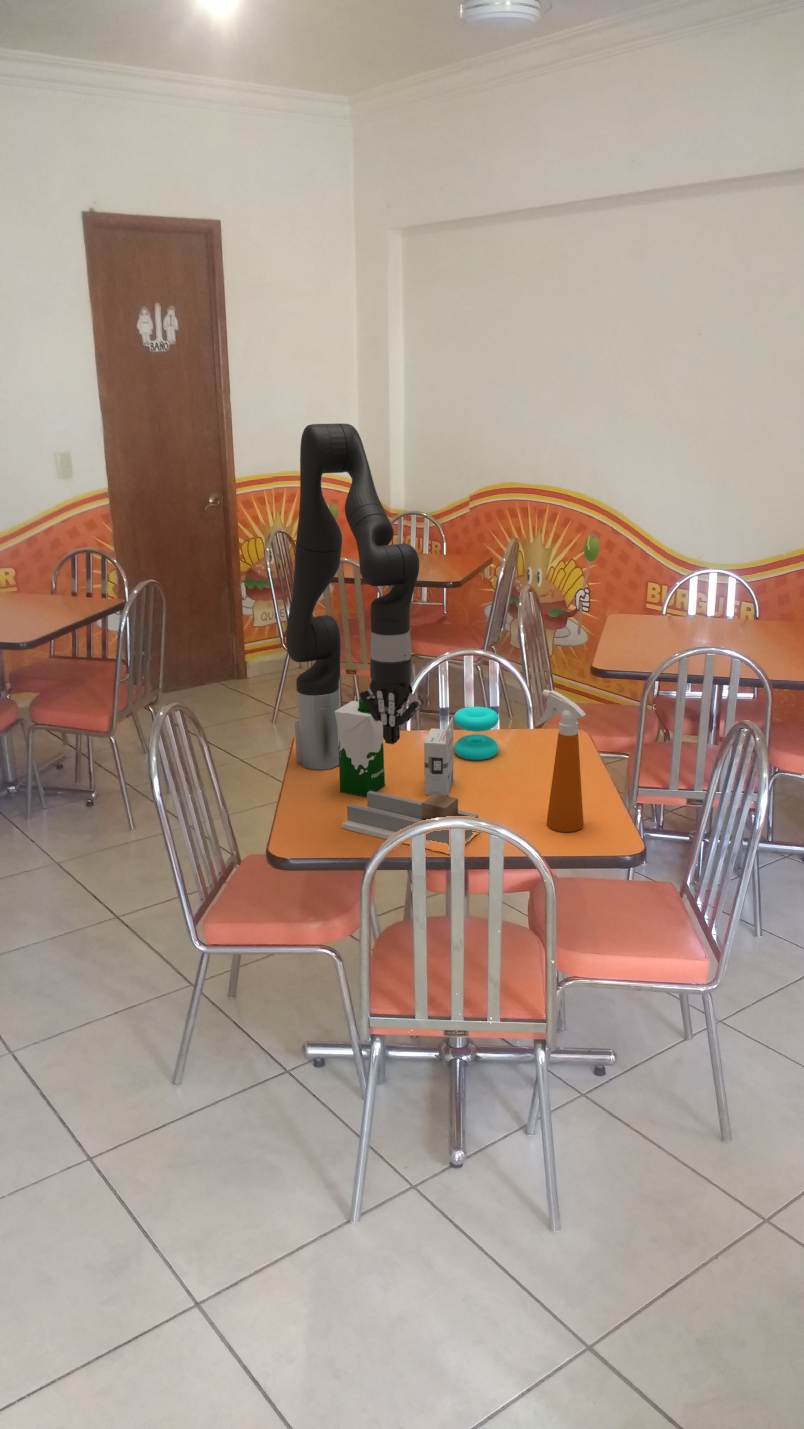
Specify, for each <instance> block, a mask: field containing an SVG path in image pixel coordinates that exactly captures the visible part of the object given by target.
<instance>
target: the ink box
mask: <svg viewBox="0 0 804 1429" xmlns="http://www.w3.org/2000/svg"><path fill="white" fill-rule="evenodd" d="M423 748H424V749H423V752H424V753H423V755H424V762H423V764H424V795H425V796H432V795H433V794H434V793H435V794H440V795H445V796H447V795H448V796H449V793H450V790H451V788H452V784H453V782H454V716H451V718H450V720H449V723H448V725H447V727H446V729H445V728H444V729H443V728H430V730H429V732H428V734H427V736H426V738H425V740H424V742H423Z"/></svg>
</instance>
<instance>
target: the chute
mask: <svg viewBox="0 0 804 1429" xmlns="http://www.w3.org/2000/svg"><path fill="white" fill-rule="evenodd" d="M366 800H367V801H366V803H367V804H366V807H365V806H362V805H357V804H352V803H349V804H348V805H346V815H347V816H346V818H347V820H346V821H344V822H342V823H341V824H342V829H344V830H347V831H350V832H355V833H360V834H363V835H367V836H371V837H375V838H378V839H379V838H380V839H384V840H387V838H388V837H389V836H391V835H393V834H394V833H395V832H397V831H399V830H400V829H403V828H405V827H407V826H409V825H412V824H414V823H417V822H419V821H422V802H423V801H418V800H413V799H410V798H405V797H401V796H395V795H392V794H387V793H382V792H379V791H377V792H374V791H369V792H367V797H366ZM458 816H470V817H475V818H478V819H479V814H478V813H477V814H476V813H471V812H468V811H465V810H464V811H463V810H459V809H458ZM472 832H476V833H479V832H477V831H472V830H465V841H466V843H467V841H468V840H469V839H470V838H471V836H472V835H473V833H472ZM479 834H480V833H479ZM430 840H432V841H437V842H442V843H444V842H445V843H447V844H448V851H449V830H441V831H433V832H430V833H428V834H426V846H427V841H430ZM467 844H468V843H467Z"/></svg>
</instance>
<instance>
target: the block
mask: <svg viewBox="0 0 804 1429" xmlns="http://www.w3.org/2000/svg"><path fill="white" fill-rule="evenodd" d="M421 802H422V820H426V819H431V818H436V817H446V816H458V810H459V798H457V797H454V796H453V797H452V796H449V795H448V796H445V795H440V794H435V793H434V794H433V795H429V797H427V798H426V799H424V800H423V801H421Z"/></svg>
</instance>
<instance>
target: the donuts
mask: <svg viewBox="0 0 804 1429" xmlns="http://www.w3.org/2000/svg"><path fill="white" fill-rule="evenodd" d="M498 722H499V714H498V713H497V711H495V710H493V709H492V708H489V707H484V706H467V707H464V708H460V709H458V710H457V711H456V712H455V713H454V715H453V723H455V725H456V726H457V727H458V728H460V729H462V730H465V731H467V732H476V733H477V732H479V733H480V732H486V731H489V730H491V729H493V728H494V727H496V726H497V725H498ZM498 751H499V744H498V743H497V741H496V740H495V739H494V738H492V737H491V736H487V735H484V734H468V735H467V734H466V735H464V736H462V737H460V738H458V739H457V740H456V741H455V742H454V743H453V752H454V753H455V754H456V756H458V757H460V758H462V759H466V760H471V761H482V760H488V759H491V758H492V757H494V756H495V755H496V754H497V753H498Z"/></svg>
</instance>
